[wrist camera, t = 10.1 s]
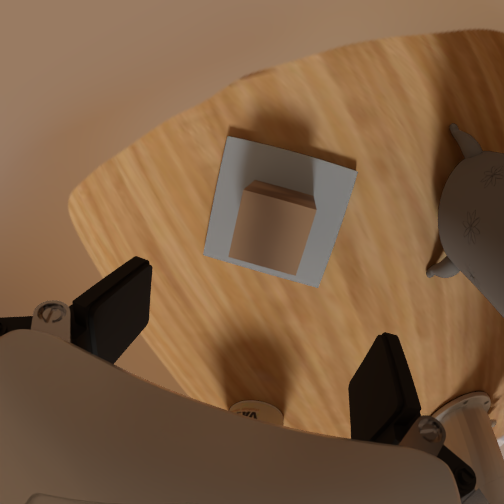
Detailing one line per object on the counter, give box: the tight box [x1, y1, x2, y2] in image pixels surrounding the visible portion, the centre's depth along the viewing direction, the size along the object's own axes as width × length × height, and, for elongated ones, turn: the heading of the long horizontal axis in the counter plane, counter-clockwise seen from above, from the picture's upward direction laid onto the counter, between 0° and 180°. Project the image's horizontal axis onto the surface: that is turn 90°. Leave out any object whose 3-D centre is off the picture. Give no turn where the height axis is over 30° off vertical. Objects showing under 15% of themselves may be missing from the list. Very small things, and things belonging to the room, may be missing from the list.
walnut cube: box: [228, 180, 317, 276], centre depth 22 cm, size 5×5×5 cm
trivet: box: [203, 136, 358, 288], centre depth 25 cm, size 11×11×1 cm
